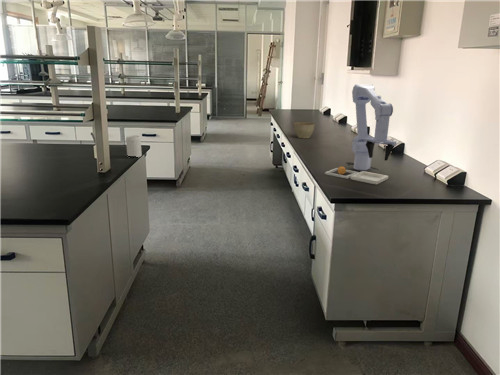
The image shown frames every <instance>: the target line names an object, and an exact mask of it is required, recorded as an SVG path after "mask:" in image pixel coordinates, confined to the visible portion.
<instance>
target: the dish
mask: <svg viewBox="0 0 500 375" xmlns="http://www.w3.org/2000/svg"><path fill="white" fill-rule="evenodd" d="M388 179H389V175H385V174H380V173H375V172H369V171H366V170H361V171H360V172H359V171H358V173H357V174H354V175H352V176H351V177H350V180H353V181H356V182H362V183H367V184H372V185H379V184H381V183H382V182H383V183H384V181H387V180H388Z"/></svg>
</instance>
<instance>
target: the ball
mask: <svg viewBox="0 0 500 375" xmlns="http://www.w3.org/2000/svg"><path fill="white" fill-rule="evenodd" d="M337 168H338V171H337V174H339V175H344V174H346V173H347V172H346V170H347V169H346V168H345V166H339V167H337Z"/></svg>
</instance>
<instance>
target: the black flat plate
mask: <svg viewBox="0 0 500 375" xmlns="http://www.w3.org/2000/svg"><path fill="white" fill-rule="evenodd" d="M345 164H346V165H347V166H354V162H350V161H349V162H346V163H345ZM370 168H371V170H377V171H382V170H380V169H379V168H376V167H373V166H371V167H370ZM370 168H369V169H370Z"/></svg>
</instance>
